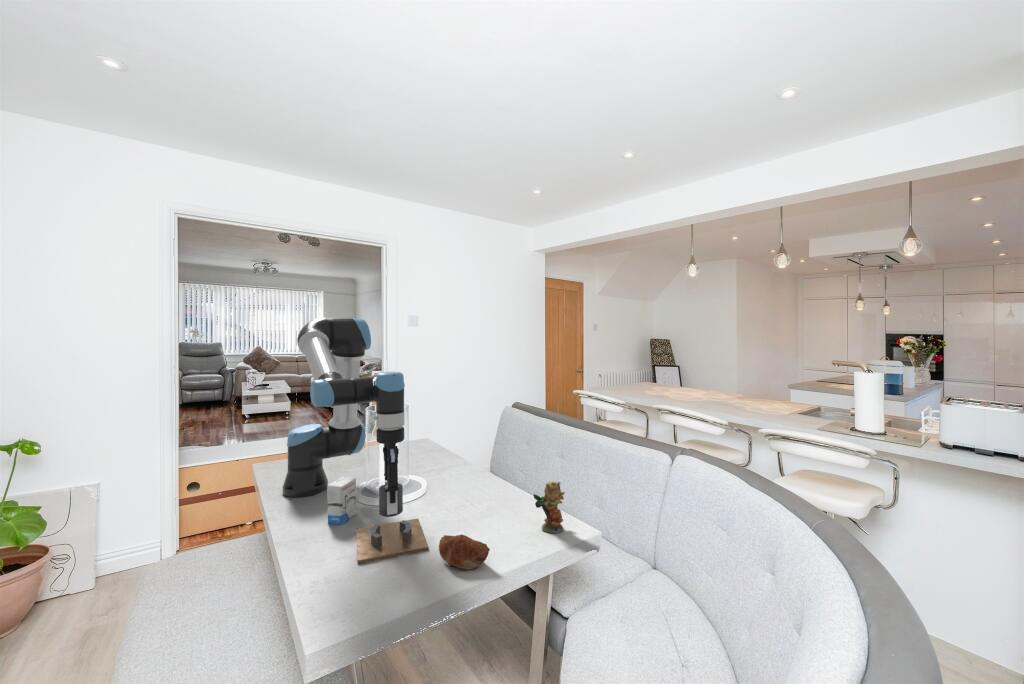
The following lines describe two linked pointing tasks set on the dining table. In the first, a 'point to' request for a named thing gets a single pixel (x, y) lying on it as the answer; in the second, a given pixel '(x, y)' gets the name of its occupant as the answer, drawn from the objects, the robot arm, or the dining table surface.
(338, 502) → the ink box
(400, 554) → the brown cardboard plate
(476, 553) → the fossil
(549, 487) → the figurine
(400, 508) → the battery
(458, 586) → the dining table surface
